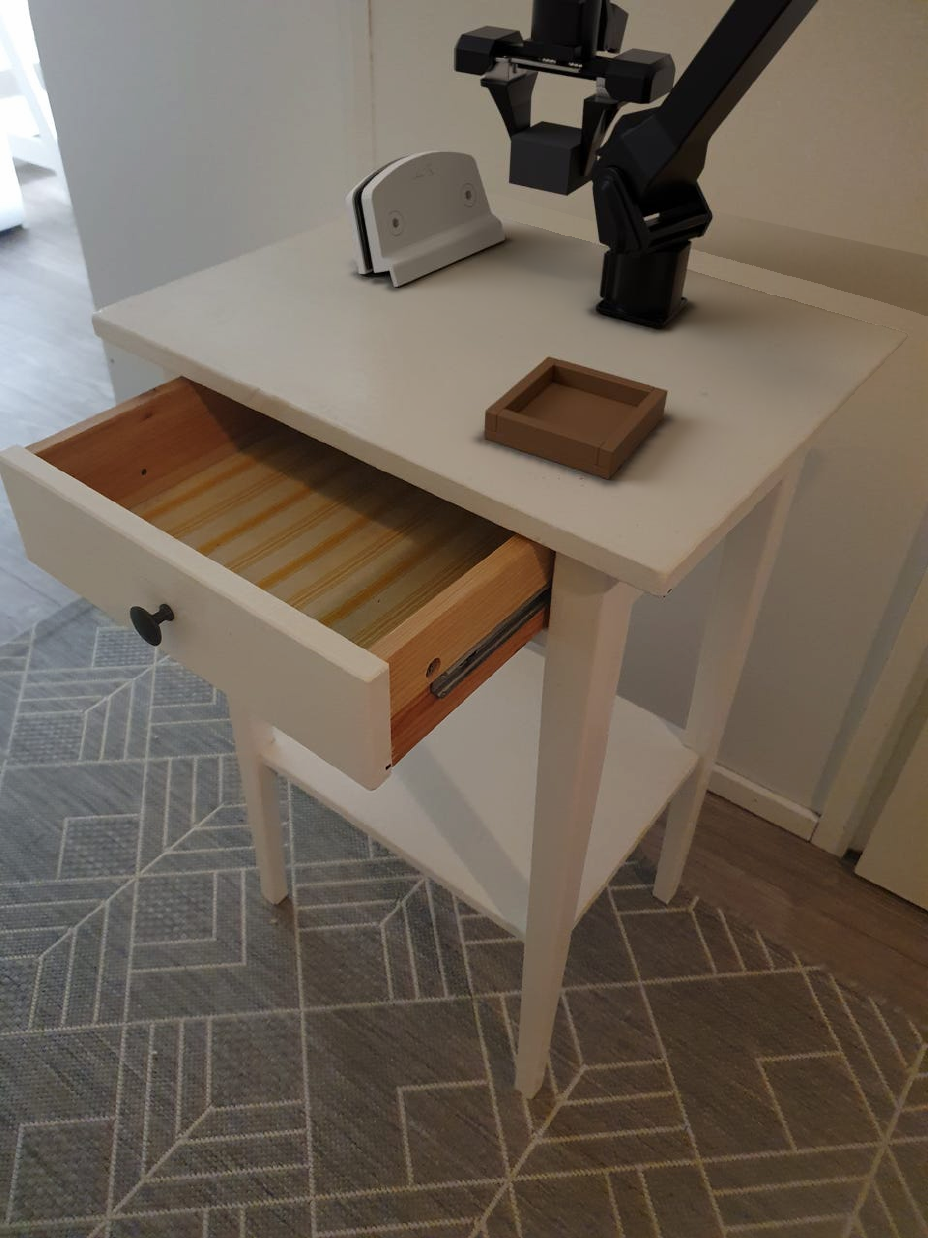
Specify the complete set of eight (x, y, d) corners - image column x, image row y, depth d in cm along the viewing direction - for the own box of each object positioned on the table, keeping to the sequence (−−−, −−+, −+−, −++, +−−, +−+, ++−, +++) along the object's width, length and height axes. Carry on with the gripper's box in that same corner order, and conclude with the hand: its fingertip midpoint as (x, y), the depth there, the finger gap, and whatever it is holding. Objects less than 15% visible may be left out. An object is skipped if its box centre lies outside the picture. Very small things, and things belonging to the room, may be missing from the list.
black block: (595, 177, 90) (600, 131, 88) (567, 196, 87) (571, 148, 84) (538, 165, 93) (541, 120, 90) (508, 183, 89) (510, 136, 86)
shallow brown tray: (663, 417, 74) (668, 390, 72) (608, 479, 67) (612, 451, 66) (545, 382, 77) (548, 355, 76) (483, 438, 71) (484, 410, 69)
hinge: (395, 287, 90) (364, 172, 85) (361, 290, 93) (330, 179, 88) (507, 238, 99) (485, 132, 95) (473, 242, 102) (450, 139, 98)
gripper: (714, -35, 80) (681, 164, 91) (516, -58, 87) (507, 130, 98) (663, -16, 73) (633, 198, 84) (451, -42, 80) (449, 158, 90)
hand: (553, 168), depth 89 cm, fingers closed on black block, 6 cm apart
